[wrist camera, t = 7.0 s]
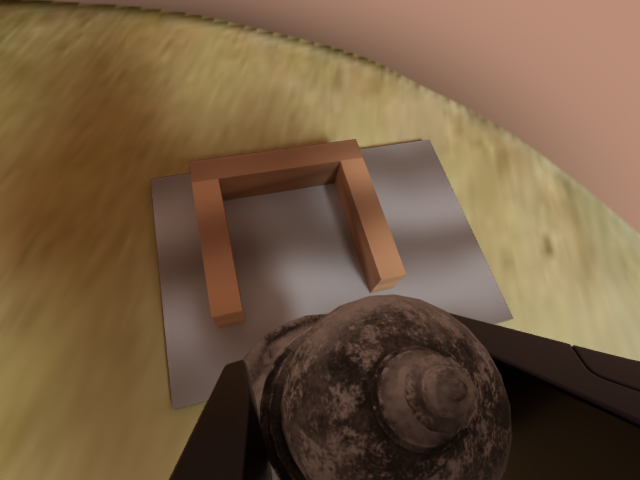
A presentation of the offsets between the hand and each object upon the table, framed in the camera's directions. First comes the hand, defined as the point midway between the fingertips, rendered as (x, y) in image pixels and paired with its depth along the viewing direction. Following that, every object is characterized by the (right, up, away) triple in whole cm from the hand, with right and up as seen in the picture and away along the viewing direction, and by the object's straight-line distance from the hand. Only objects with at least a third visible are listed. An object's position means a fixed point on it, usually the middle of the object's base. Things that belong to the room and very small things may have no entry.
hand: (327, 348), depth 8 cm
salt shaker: (0, -4, +6) cm, 7 cm away
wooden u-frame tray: (0, +2, +16) cm, 16 cm away
